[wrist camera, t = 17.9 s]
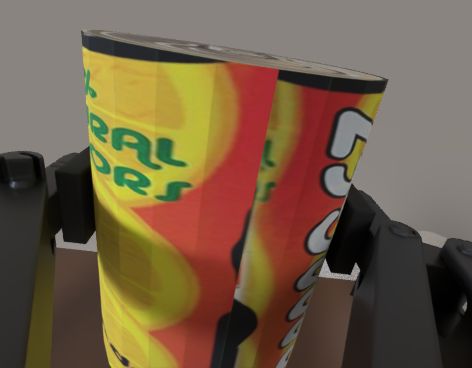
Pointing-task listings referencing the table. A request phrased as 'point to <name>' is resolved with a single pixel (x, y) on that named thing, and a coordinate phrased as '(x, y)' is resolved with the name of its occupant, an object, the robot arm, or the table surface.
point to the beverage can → (215, 194)
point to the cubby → (91, 325)
